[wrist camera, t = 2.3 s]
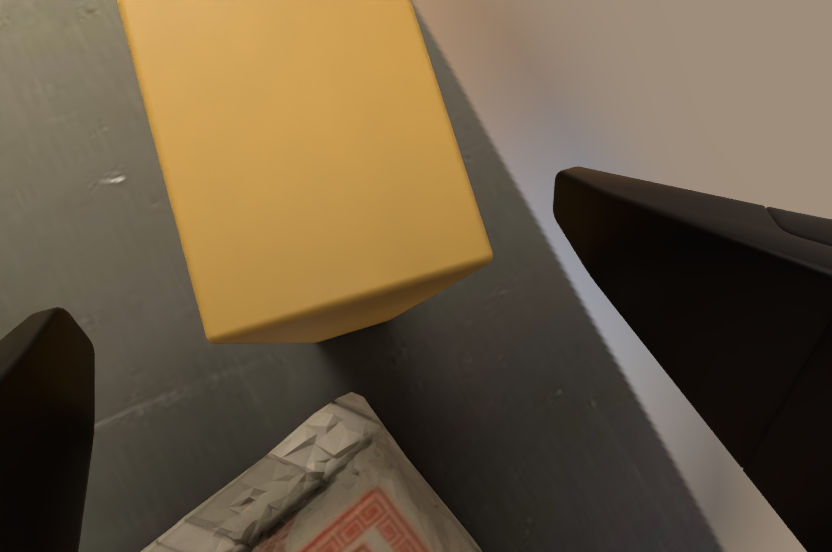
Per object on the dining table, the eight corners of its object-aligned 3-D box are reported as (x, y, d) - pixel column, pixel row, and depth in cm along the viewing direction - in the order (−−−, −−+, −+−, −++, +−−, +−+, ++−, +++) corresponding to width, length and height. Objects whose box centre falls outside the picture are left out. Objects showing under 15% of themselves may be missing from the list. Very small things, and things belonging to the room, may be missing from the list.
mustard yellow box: (391, 320, 18) (498, 260, 5) (314, 343, 17) (205, 347, 4) (353, 193, 18) (358, -170, 5) (277, 213, 18) (78, -132, 5)
